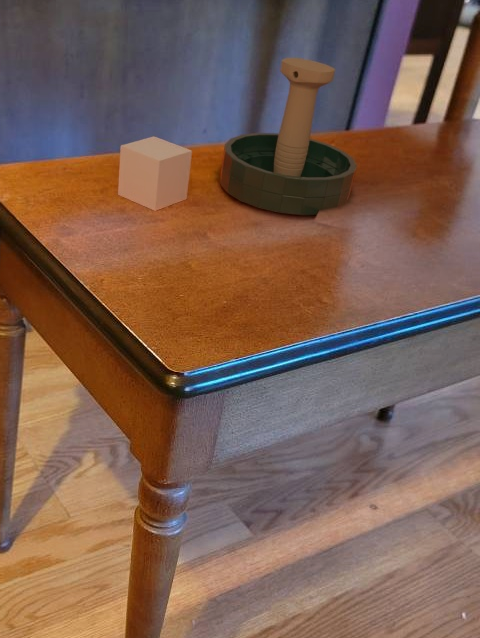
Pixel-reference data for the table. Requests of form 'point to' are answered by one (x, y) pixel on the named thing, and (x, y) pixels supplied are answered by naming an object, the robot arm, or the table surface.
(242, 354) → the table surface
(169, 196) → the beige cube
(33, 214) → the table surface
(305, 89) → the handle
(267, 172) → the bowl
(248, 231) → the table surface
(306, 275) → the table surface
